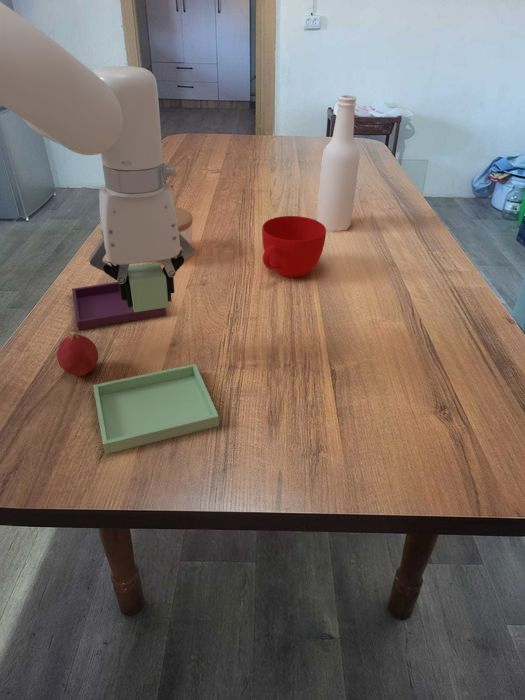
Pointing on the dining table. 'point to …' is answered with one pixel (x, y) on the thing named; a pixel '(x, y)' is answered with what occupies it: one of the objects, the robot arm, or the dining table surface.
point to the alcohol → (339, 170)
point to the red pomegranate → (77, 354)
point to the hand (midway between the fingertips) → (148, 299)
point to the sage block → (147, 287)
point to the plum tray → (106, 307)
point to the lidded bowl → (184, 224)
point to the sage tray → (153, 408)
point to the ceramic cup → (292, 245)
